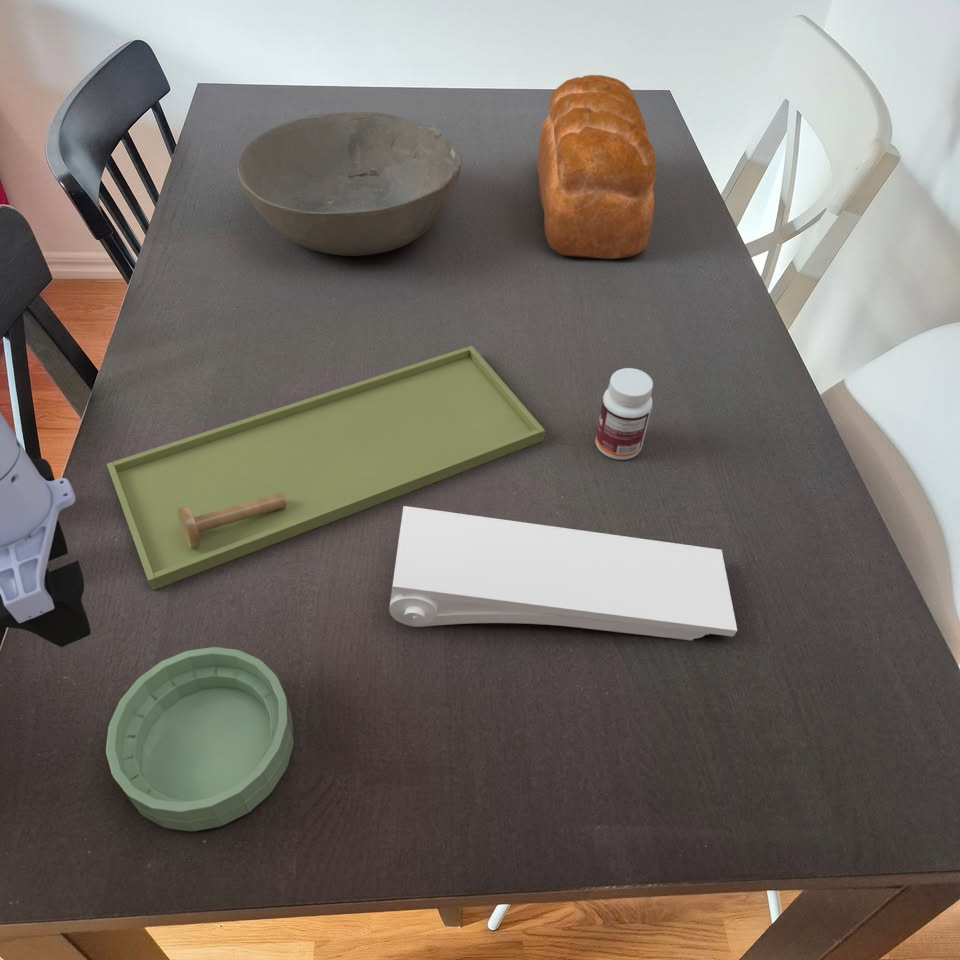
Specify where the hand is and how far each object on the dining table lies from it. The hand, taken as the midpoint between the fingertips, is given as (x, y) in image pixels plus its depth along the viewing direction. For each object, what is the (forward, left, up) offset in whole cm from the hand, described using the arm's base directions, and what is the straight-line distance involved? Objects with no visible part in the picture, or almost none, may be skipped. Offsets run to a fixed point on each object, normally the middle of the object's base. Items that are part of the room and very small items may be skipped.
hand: (63, 595), depth 58 cm
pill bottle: (+51, +2, -11) cm, 52 cm away
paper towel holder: (+9, +9, -8) cm, 15 cm away
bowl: (+44, +52, -11) cm, 69 cm away
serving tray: (+25, +14, -10) cm, 30 cm away
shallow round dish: (+5, -10, -10) cm, 15 cm away
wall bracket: (+35, -10, -11) cm, 38 cm away
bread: (+74, +42, -11) cm, 86 cm away
